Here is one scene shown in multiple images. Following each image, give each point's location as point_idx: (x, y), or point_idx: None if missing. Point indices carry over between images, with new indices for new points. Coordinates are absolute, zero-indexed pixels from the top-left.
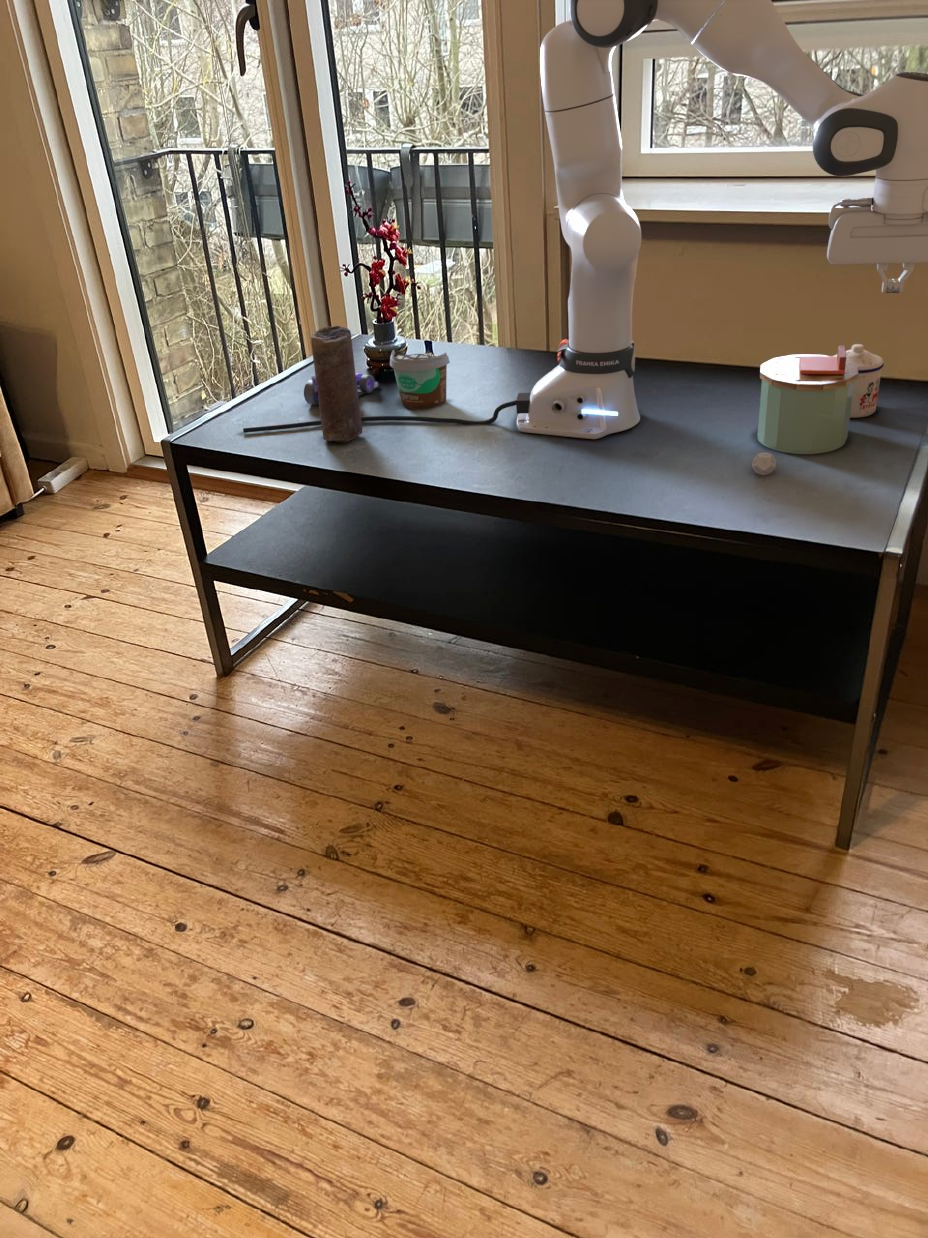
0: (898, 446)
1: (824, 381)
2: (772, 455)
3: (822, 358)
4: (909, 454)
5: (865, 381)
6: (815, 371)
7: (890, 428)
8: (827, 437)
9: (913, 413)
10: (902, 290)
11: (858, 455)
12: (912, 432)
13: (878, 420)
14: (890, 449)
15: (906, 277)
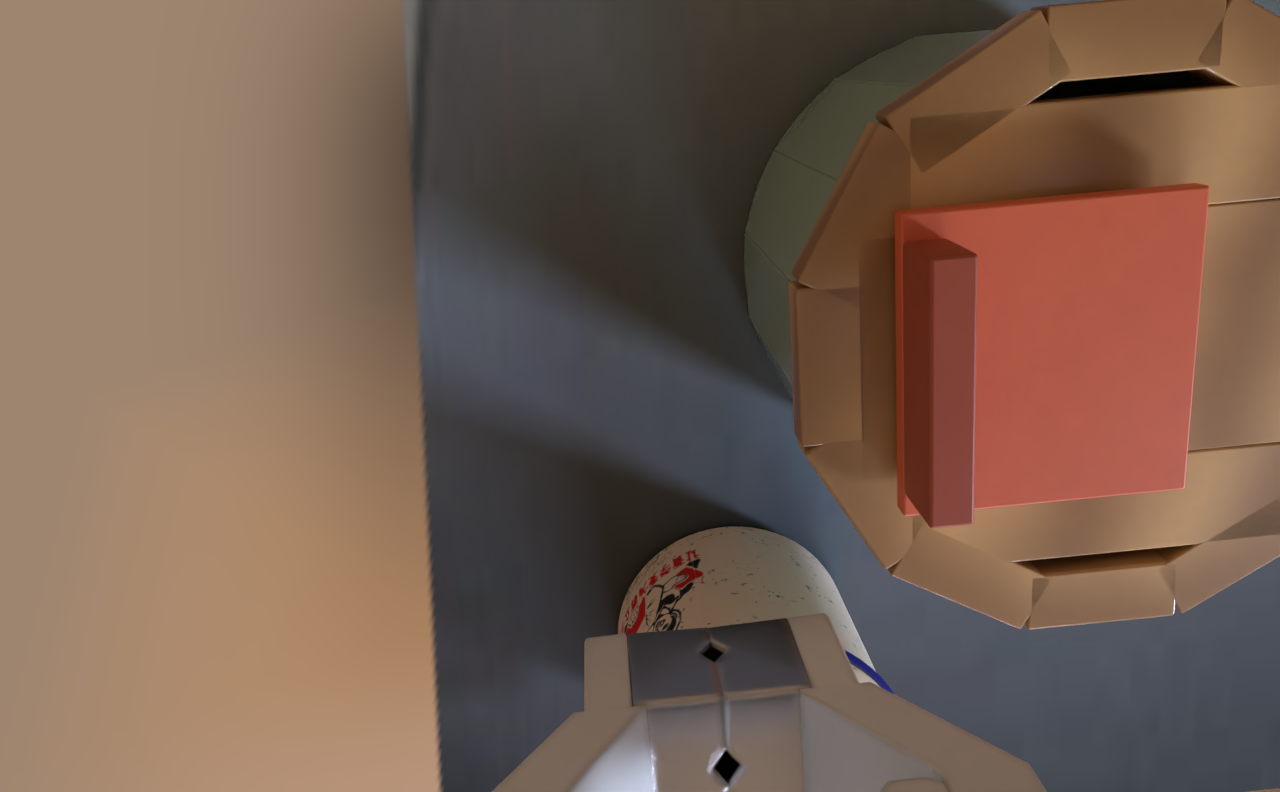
0: (503, 214)
1: (1031, 74)
2: None
3: (1040, 459)
4: (449, 118)
5: (699, 624)
6: (1102, 194)
7: (546, 433)
8: (859, 73)
9: (453, 624)
10: (588, 643)
11: (684, 65)
12: (448, 399)
13: (602, 520)
14: (538, 169)
15: (558, 741)
